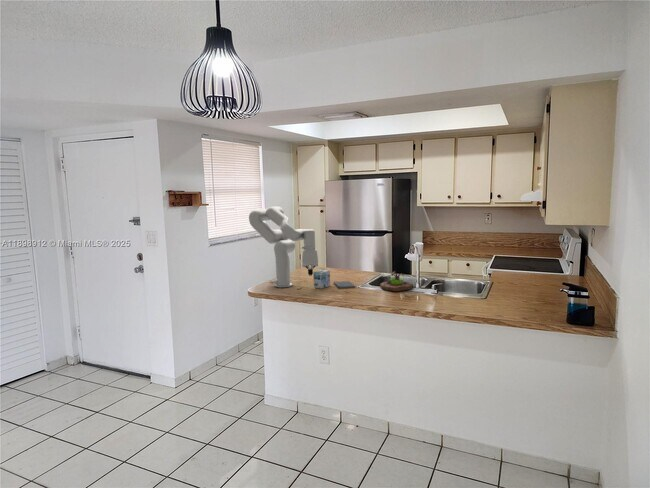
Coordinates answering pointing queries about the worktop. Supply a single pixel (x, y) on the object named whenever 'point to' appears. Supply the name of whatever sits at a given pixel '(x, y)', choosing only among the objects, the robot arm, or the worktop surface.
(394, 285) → the plant
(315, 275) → the light bulb box
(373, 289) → the worktop surface
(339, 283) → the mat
